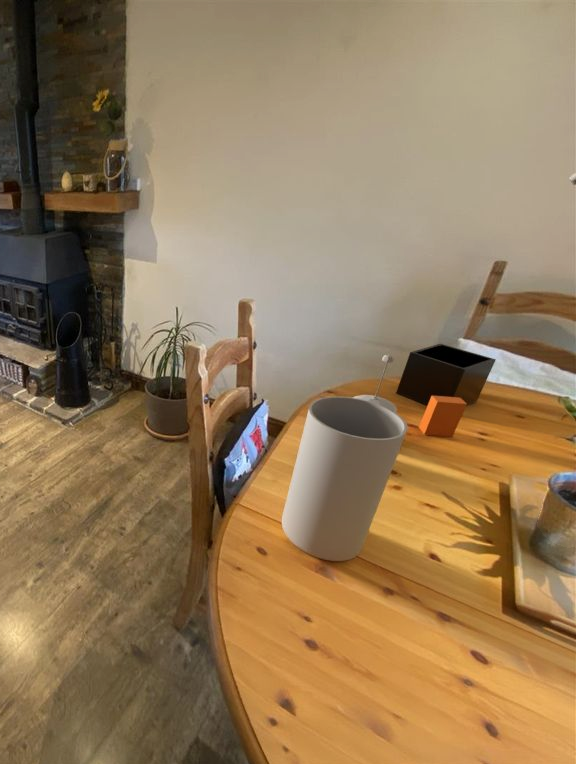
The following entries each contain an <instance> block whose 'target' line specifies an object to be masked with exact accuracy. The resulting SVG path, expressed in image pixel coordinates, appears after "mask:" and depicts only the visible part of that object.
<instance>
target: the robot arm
mask: <svg viewBox="0 0 576 764" xmlns="http://www.w3.org/2000/svg"><path fill="white" fill-rule="evenodd" d="M569 180H570V181H571V183H572V185H573V186H575V185H576V172H574V173H572V174H571V175H570V177H569Z"/></svg>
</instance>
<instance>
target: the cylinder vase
mask: <svg viewBox="0 0 576 764" xmlns="http://www.w3.org/2000/svg"><path fill="white" fill-rule="evenodd" d="M303 427H304V428H303V430H302V434H301V439H300V443H299V447H298V451H297V455H296V459H295V463H294V467H293V472H292V475H291V476H292V477H291V479H290V484H289V487H288V491H287V495H286V500H285V504H284V509H283V511H282V515H281V527H282V530H283V532H284V534H285V536H286V537H287V539H288V540H289V541H290V542H291V543H292V544H293V545H295V547H297V548H298V549H299V550H301V551H303V552H304V553H305V554H308V555H310V556H312V557H315V558H317V559H321V560H325V561H329V562H330V561H331V562H345V561H349V560H353V559H354V558H356V557H357V556H358V555H359V554H360V553H361V551H362V549H363V546H364V544H365V541H366V539H367V537H368V533H369V532H370V528H371V527H372V523H373V522H374V521H373V520H374V518H375V515H376V513H377V510H378V507H379V505H380V503H381V499H382V497H383V494H384V492H385V489H386V487H387V484H388V482H389V479H390V476H391V475H392V471H393V468H394V466H395V464H396V460H397V458H398V456H399V453H400V450H401V447H402V444H403V442H404V440H405V438H406V435H407V432H408V424H407V422H406V421H405V419H404V418H403V417H402V416H401V415H400V414H398V412H396V413H395V412H393V411H392V410H390V409H388V408H386V407H384V406H381V405H379V404H376V403H373V402H370V401H366V400H362V399H357V398H353V397H350V396H337V395H335V396H333V395H332V396H324V397H320V398H317V399H314V400H313V401H312V402H311V403H310V404H309V406H308V409H307V414H306V418H305V422H304V426H303Z"/></svg>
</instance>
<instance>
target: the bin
mask: <svg viewBox="0 0 576 764" xmlns="http://www.w3.org/2000/svg"><path fill="white" fill-rule="evenodd" d="M496 361H497V359H496V358H493V357H489V356H485V355H481V354H478V353H475V352H472V351H469V350H464V349H461V348H457V347H454V346H450V345H447V344H443V343H437V344H434V345H431V346H427V347H423V348H419V349H417V350H413V351H411V352H409V355H408V357H407V360H406V363H405V366H404V369H403V372H402V374H401V378H400V380H399V382H398V386H397V389H396V392H395V394H396V395H398V396H401V397H404V398H406V399H408V400H411V401H414V402H416V403H418V404H420V405H423V406H425V407H427V406H428V404H429V401H430V398H431V396H445V397H458V398H461V399H462V400H463V401H464V402H465V403H466V404H467V405H466V407H468V406H471V405H474V404H477V403H478V400H479V398H480V395H481V393H482V392H483V389H484V386H485V385H486V383H487V380H488V379H489V378H488V377H489V375H490V373H491V372H492V369H493V367H494V365H495V363H496Z"/></svg>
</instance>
